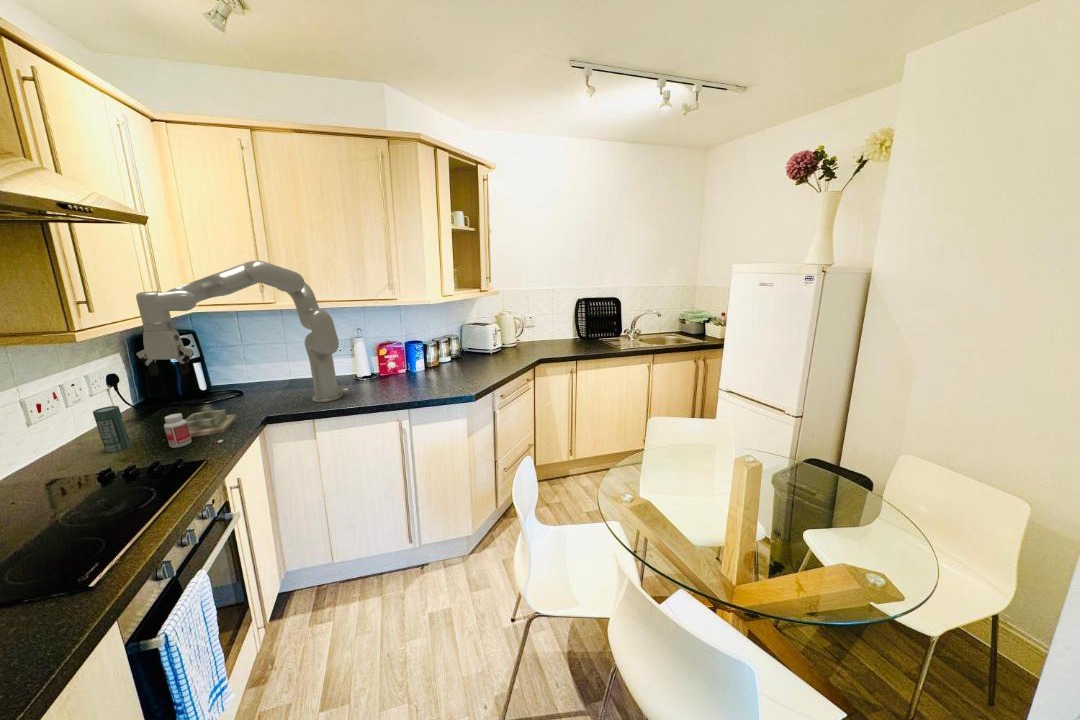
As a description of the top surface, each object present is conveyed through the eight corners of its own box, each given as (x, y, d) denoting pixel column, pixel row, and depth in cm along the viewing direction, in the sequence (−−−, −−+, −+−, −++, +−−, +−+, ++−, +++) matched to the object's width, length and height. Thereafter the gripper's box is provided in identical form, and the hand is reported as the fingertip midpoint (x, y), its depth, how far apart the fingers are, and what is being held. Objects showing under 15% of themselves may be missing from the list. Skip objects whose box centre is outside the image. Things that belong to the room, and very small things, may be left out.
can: (133, 443, 149) (122, 404, 145) (124, 450, 143) (112, 410, 140) (112, 446, 147) (99, 407, 143) (102, 453, 141) (88, 413, 137)
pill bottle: (195, 439, 151) (187, 411, 148) (187, 446, 145) (180, 417, 143) (174, 442, 149) (166, 414, 146) (166, 449, 143) (157, 420, 141)
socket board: (237, 417, 171) (234, 406, 169) (223, 432, 156) (220, 420, 155) (190, 423, 166) (187, 412, 164) (171, 439, 151) (168, 427, 150)
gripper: (193, 324, 147) (203, 370, 151) (139, 326, 145) (151, 372, 149) (178, 328, 140) (189, 376, 144) (121, 330, 138) (134, 378, 142)
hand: (170, 374), depth 147 cm, fingers open, 9 cm apart
